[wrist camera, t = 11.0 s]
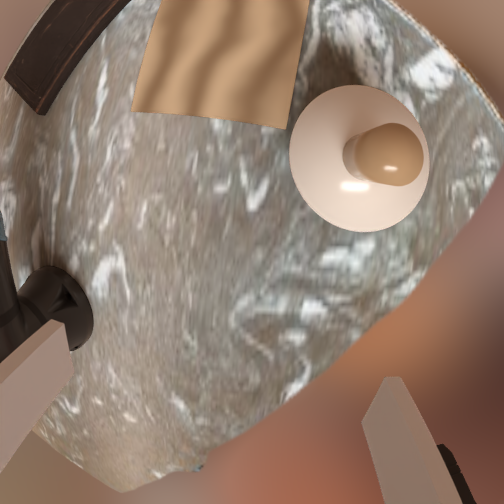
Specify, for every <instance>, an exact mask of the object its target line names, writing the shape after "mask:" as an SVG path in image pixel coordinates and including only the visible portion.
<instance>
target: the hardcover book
mask: <svg viewBox="0 0 504 504" xmlns="http://www.w3.org/2000/svg"><path fill="white" fill-rule="evenodd" d="M130 1H131V0H55V1H54V2H53V4H52V5H51V6H50V7H49V9H48V10H47V11H46V13H45V14H44V15H43V16H42V18H41V19H40V21H39V22H38V23H37V25H36V26H35V27H34V29H33V30H32V32H31V33H30V35H29V36H28V38H27V39H26V41H25V42H24V44H23V45H22V47H21V49H20V50H19V52H18V53H17V55H16V57H15V58H14V60H13V62H12V64H11V65H10V67H9V69H8V71H7V72H6V74H5V76H4V79H5V80H6V81H7V82H8V83H9V84H10V85H11V86H12V87H13V89H14V90H15V91H16V92H17V93H18V94H19V95H20V96H21V97H22V98H23V99H24V101H25V102H26V103H27V104H28V105H29V106H30V107H31V108H32V109H33V110H34V111H35V112H36V113H37V114H39V115H44V116H45V115H46V113H47V111H48V109H49V108H50V106H51V104H52V103H53V101H54V99H55V98H56V96H57V94H58V93H59V91H60V89H61V88H62V86H63V85H64V83H65V82H66V80H67V79H68V77H69V76H70V74H71V73H72V71H73V70H74V68H75V67H76V65H77V64H78V63H79V61H80V60H81V59H82V57H83V56H84V54H85V53H86V52H87V50H88V49H89V48H90V47H91V45H92V44H93V43H94V41H95V40H96V39H97V38H98V37H99V35H100V34H101V33H102V32H103V30H104V29H105V28H106V27H107V26H108V25H109V23H110V22H111V21H112V20H113V19H114V18H115V17H116V16H117V15H118V13H119V12H120V11H121V10H122V9H123V8H124V7H125V6H126V5H127V4H128V3H129V2H130Z"/></svg>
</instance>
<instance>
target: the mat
mask: <svg viewBox="0 0 504 504" xmlns="http://www.w3.org/2000/svg"><path fill="white" fill-rule="evenodd" d="M309 1H310V0H162V1H161V4H160V7H159V10H158V12H157V15H156V18H155V21H154V24H153V27H152V30H151V34H150V37H149V40H148V43H147V47H146V50H145V54H144V57H143V61H142V65H141V69H140V73H139V77H138V81H137V85H136V89H135V94H134V98H133V103H132V108H131V112H147V113H165V114H178V115H189V116H199V117H208V118H217V119H224V120H232V121H239V122H245V123H251V124H257V125H263V126H269V127H274V128H280V129H285V130H286V126H287V121H288V116H289V110H290V105H291V100H292V94H293V89H294V84H295V78H296V73H297V67H298V62H299V56H300V51H301V45H302V40H303V34H304V29H305V23H306V18H307V12H308V6H309Z"/></svg>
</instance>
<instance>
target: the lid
mask: <svg viewBox="0 0 504 504" xmlns="http://www.w3.org/2000/svg"><path fill="white" fill-rule="evenodd" d="M289 162H290V168H291V173H292V176H293V179H294V182H295V184H296V186H297V189H298V191H299V192H300V194H301V196H302V197H303V199H304V200H305V201H306V202H307V204H308V205H309V206H310V207H311V208H312V209H313V210H314V211H315V212H316V213H317V214H318V215H319V216H321V217H322V218H323V219H325V220H326V221H328V222H330V223H331V224H333V225H335V226H338V227H340V228H343V229H347V230H350V231H357V232H372V231H378V230H382V229H385V228H388V227H390V226H392V225H394V224H396V223H398V222H399V221H401V220H402V219H403V218H405V217H406V216H407V215H408V214H409V213H410V212H411V211H412V210H413V209H414V208H415V206H416V205H417V203H418V202H419V200H420V198H421V197H422V195H423V193H424V190H425V187H426V184H427V180H428V175H429V152H428V146H427V143H426V139H425V136H424V134H423V131H422V129H421V127H420V125H419V123H418V122H417V120H416V119H415V117H414V116H413V114H412V113H411V112H410V111H409V110H408V109H407V108H406V107H405V106H404V105H403V104H402V103H401V102H400V101H399V100H397V99H396V98H394V97H393V96H391V95H389V94H388V93H386V92H384V91H381V90H379V89H376V88H373V87H368V86H362V85H346V86H341V87H337V88H334V89H331V90H328V91H326V92H324V93H322V94H321V95H319V96H318V97H316V98H315V99H314V100H313V101H311V102H310V103H309V104H308V105H307V106H306V108H305V109H304V110H303V112H302V113H301V114H300V116H299V118H298V120H297V122H296V124H295V126H294V129H293V131H292V135H291V139H290V146H289Z"/></svg>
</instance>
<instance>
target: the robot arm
mask: <svg viewBox="0 0 504 504" xmlns="http://www.w3.org/2000/svg"><path fill="white" fill-rule="evenodd" d="M92 331H93V316H92V311H91V308H90V305H89V302H88V300H87V298H86V296H85V294H84V292H83V291H82V289H81V288H80V286H79V285H78V284H77V283H76V281H75V280H74V279H73V278H72V277H71V276H70V275H68V274H67V273H66V272H64V271H63V270H61V269H59V268H57V267H53V266H45V267H42V268H40V269H38V270H36V271H34V272H33V273H32V274H31V275H30V276H29V277H28V278H27V280H26V282H25V283H24V284H23V285H22V287H21V288H20V289H19V291H18V292H17V291H16V287H15V283H14V279H13V274H12V269H11V264H10V259H9V254H8V248H7V237H6V235H5V230H4V224H3V218H2V213H1V211H0V472H2V470H3V469H4V467H5V466H6V464H7V463H8V461H9V460H10V458H11V457H12V456H13V454H14V453H15V451H16V450H17V448H18V447H19V445H20V444H21V443H22V441H23V440H24V439H25V437H26V436H27V435H28V433H29V432H30V430H31V429H32V428H33V426H34V425H35V424H36V422H37V421H38V420H39V418H40V417H41V416H42V414H43V413H44V412H45V410H46V409H47V408H48V407H49V405H50V404H51V403H52V401H53V400H54V399H55V397H56V396H57V395H58V394H59V392H60V391H61V390H62V389H63V387H64V386H65V385H66V384H67V382H68V381H69V380H70V379H71V377H72V376H73V375H74V374H75V373H74V369H73V365H72V360H71V356H70V351H74V350H77V349H79V348H80V347H81V346H82V345H83V344H84V343H85V342H86V341H87V340H88V339H89V338H90V336H91V334H92ZM361 423H362V426H363V429H364V432H365V436H366V439H367V442H368V446H369V449H370V452H371V456H372V459H373V463H374V466H375V470H376V473H377V476H378V480H379V484H380V487H381V491H382V495H383V498H384V502H385V504H476V502H475V500H474V498H473V496H472V494H471V492H470V490H469V487H468V485H467V483H466V481H465V479H464V476H463V474H462V473H460V471H461V470H460V468H459V466H458V465H457V462H456V460H455V458H454V456H453V454H452V452H451V451H450V450H449V449H448V448H447V447H445V445H444V444H440V445H436V444H435V442H434V440H433V438H432V436H431V434H430V432H429V430H428V428H427V426H426V424H425V422H424V420H423V418H422V417H421V414H420V413H419V411H418V409H417V407H416V405H415V403H414V401H413V399H412V397H411V395H410V393H409V392H408V390H407V388H406V386H405V384H404V383H403V381H402V379H401V377H384V380H383V382H382V384H381V386H380V388H379V390H378V392H377V394H376V396H375V398H374V400H373V402H372V404H371V405H370V407H369V409H368V411H367V413H366V415H365V416H364V418H363V420H362V422H361Z"/></svg>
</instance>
